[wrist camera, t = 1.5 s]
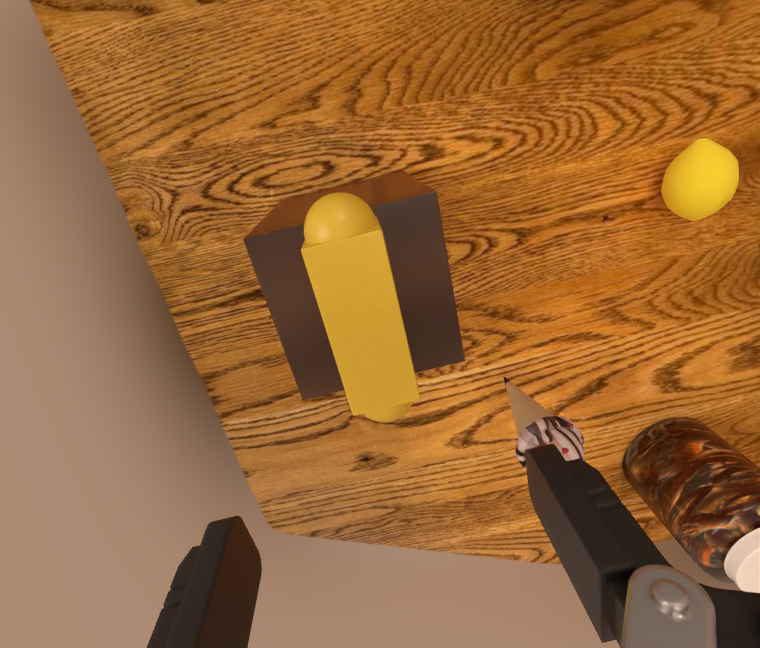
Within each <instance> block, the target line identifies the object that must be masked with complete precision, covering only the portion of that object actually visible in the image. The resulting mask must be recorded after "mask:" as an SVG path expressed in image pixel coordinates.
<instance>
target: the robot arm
mask: <svg viewBox="0 0 760 648" xmlns="http://www.w3.org/2000/svg"><path fill="white" fill-rule="evenodd" d="M525 460H526V469H527V477H528V486H529V493H530V497H531V500H532V503H533V506H534V509H535V511H536V513H537V515H538V517H539V519H540V521H541V523H542V525H543V527H544V529H545V531H546V533H547V535H548V537H549V539H550V541H551V543H552V545H553V547H554V549H555V551H556V553H557V555H558V557H559V559H560V561H561V563H562V565H563V567H564V568H565V570H566V572H567V574H568V576H569V578H570V580H571V582H572V584H573V586H574V588H575V590H576V592H577V594H578V596H579V598H580V600H581V602H582V604H583V606H584V608H585V609H586V612H587V614H588V616H589V618H590V620H591V621H592V624H593V626H594V628H595V630H596V631H597V633H598V636H599V637H600V639H601V641H602V643H603V642H607V641H612V640H617V642H618V644H619V645H620V648H760V593H755V592H745V591H735V590H725V589H718V588H712V587H709V586H705V585H703V584H700V583H698V582H696V581H695V580H694V579H693V578H691V577H690V576H688V575H687V574H685V573H683V572H681V571H679V570H677V569H675V568H673V567H672V566H671V565H670V564H669V563H668V562H667V561H666V559H665V558H664V557H663V556H662V554H661V553H660V552H659V550H658V549H657V548H656V546H655V545H654V544H653V542H652V541H651V540H650V539H649V537H648V536H647V535H646V533H645V532H644V531H643V529H642V528H641V527H640V525H639V524H638V523H637V521H636V520H635V519H634V517H633V516H632V515H631V513H630V512H629V511H628V509H627V508H626V507H625V505H623V504H622V503H621V500H620V499H619V498H618V496H617V495H616V494H615V492H614V491H612V490H611V487H610V486H609V484H608V483H607V482H606V480H605V479H604V478H603V476H602V475H601V474H600V472H599V471H598V470H596V469H595V468H593V467H592V466H590V465H589V464H587V463H586V462H584V461H583V460H581V459H580V458H578V459H574V460H570V461H566V460H565V458H564V457H563V455H562V454H561V452H560V451H559V450H558V448H557V447H556V445H555V444H553V443H551V444H546V445H542V446H538V447H534V448H529V449H526V450H525ZM261 569H262V567H261V558H260V554H259V551H258V549H257V547H256V545H255V543H254V541H253V539H252V537H251V536H250V534H249V532H248V530H247V528H246V526H245V524H244V522H243V520H242V518H241V517H239V516H234V517H230V518H226V519H222V520H217V521H213V522H211V523H209V524H208V526H207V528H206V531H205V534H204V537H203V539H202V543H201V545H200V546H196V547H192V549H191V550H190V551H189V553H188V554H187V556H186V557H185V558H184V560H183V561H182V562H181V564H180V565H179V566H178V569H177V571H176V574H175V576H174V579H173V582H172V584H171V587H170V588H171V591H169V592H168V594H167V597H166V600H165V602H164V608H163V609H162V610H161V612H160V615H159V618H158V620H157V623H156V625H155V628H154V630H153V633H152V636H151V638H150V641H149V643H148V646H147V648H247V647H248V641H249V636H250V631H251V626H252V621H253V614H254V610H255V605H256V600H257V594H258V589H259V584H260V579H261Z"/></svg>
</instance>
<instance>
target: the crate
mask: <svg viewBox="0 0 760 648" xmlns="http://www.w3.org/2000/svg"><path fill="white" fill-rule="evenodd" d="M339 192H342V193H349V194H352V195H355V196H357V197H359V198H361V199H362V200H363V201H364V202H366V203H367V204H368V205H369V207H370V208H371V209H372V211H373V213H374V215H375V216H376V217H377V218H378V221H379V223H380V226H381V228H382V231H383V236H384V240H385V244H386V249H387V253H388V258H389V262H390V266H391V271H392V275H393V279H394V284H395V288H396V293H397V297H398V301H399V306H400V310H401V314H402V319H403V323H404V327H405V332H406V336H407V341H408V345H409V349H410V354H411V358H412V362H413V367H414V371H415V373H417V372H421V371H425V370H429V369H433V368H438V367H442V366H446V365H450V364H454V363H458V362H462V361H465V358H464V352H463V346H462V340H461V334H460V328H459V322H458V316H457V310H456V304H455V298H454V292H453V286H452V281H451V275H450V269H449V263H448V257H447V251H446V245H445V239H444V233H443V227H442V221H441V215H440V209H439V203H438V197H437V192H436V191H435V190H434V189H432V188H430V187H429V186H427V185H425V184H424V183H422V182H420V181H419V180H417V179H415V178H414V177H412V176H410V175H409V174H407V173H405V172H404V171H399V172H395V173H391V174H387V175H383V176H379V177H375V178H371V179H367V180H363V181H359V182H355V183H351V184H347V185H343V186H339V187H335V188H331V189H327V190H323V191H319V192H315V193H311V194H307V195H303V196H299V197H295V198H291V199H287V200H283V201H280V202H279V203H278V204H277V205H276V206H275V208H274V209H273V210H272V211H271V212H270V213H269V214H268V215H267V216H266V217H265V218H264V219H263V220H262V221H261V222H260V223H259V224H258V225H257V226H256V227H255V228H254V229H253V230H252V231H251V232H250V233H249V234H248V235H247V236H246V237H245V238H244V239H243V240H244V243H245V246H246V248H247V251H248V254H249V257H250V259H251V262H252V265H253V267H254V270H255V273H256V275H257V278H258V281H259V284H260V286H261V289H262V292H263V294H264V297H265V300H266V302H267V305H268V308H269V311H270V313H271V316H272V319H273V321H274V324H275V327H276V329H277V332H278V335H279V338H280V340H281V343H282V346H283V348H284V351H285V354H286V356H287V359H288V362H289V365H290V367H291V370H292V373H293V375H294V378H295V381H296V383H297V386H298V389H299V392H300V394H301V397H302V399H303V400H304V399H308V398H313V397H317V396H321V395H325V394H329V393H333V392H338V391H342V390H345V389H344V386H343V382H342V379H341V376H340V373H339V370H338V367H337V363H336V360H335V357H334V354H333V351H332V348H331V344H330V341H329V338H328V335H327V332H326V329H325V325H324V322H323V319H322V316H321V313H320V310H319V306H318V303H317V300H316V297H315V294H314V291H313V287H312V284H311V281H310V278H309V275H308V272H307V268H306V265H305V262H304V259H303V256H302V253H301V248H302V246H303V243H304V240H305V237H304V223H305V218H306V215H307V213H308V211H309V210H310V208H311V207H312V206H313V204H314V203H315V202H316V201H318V200H319V199H320V198H322V197H324V196H326V195H328V194H331V193H339Z"/></svg>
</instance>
